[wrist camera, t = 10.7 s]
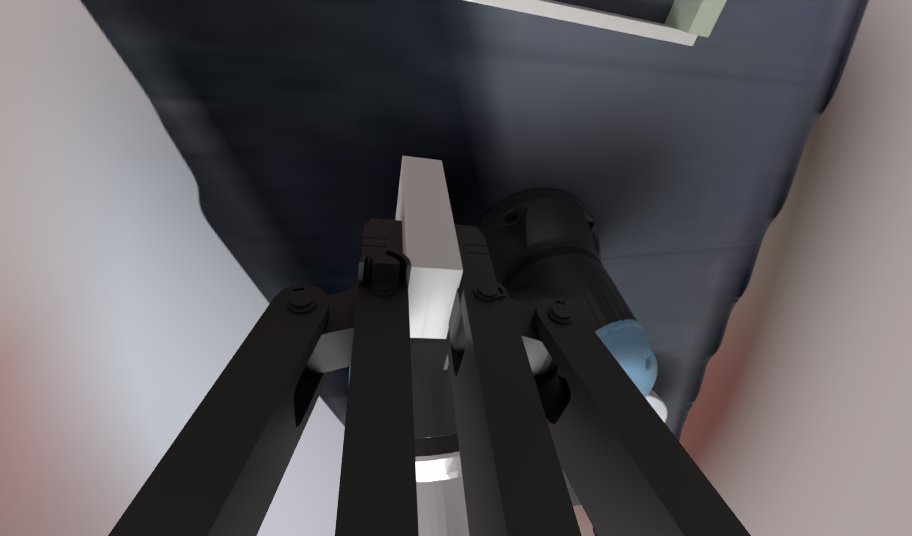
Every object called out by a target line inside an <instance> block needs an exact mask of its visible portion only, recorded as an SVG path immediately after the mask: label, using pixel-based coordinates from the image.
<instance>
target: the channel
mask: <svg viewBox="0 0 912 536" xmlns="http://www.w3.org/2000/svg"><path fill="white" fill-rule="evenodd" d="M465 1H470V2H475V3H480V4H485V5H490V6H495V7H500V8H505V9H510V10H515V11H520V12H525V13H530V14H535V15H540V16H545V17H550V18H555V19H560V20H565V21H570V22H575V23H580V24H585V25H590V26H595V27H600V28H605V29H609V30H614V31H619V32H624V33H629V34H634V35H639V36H644V37H649V38H654V39H659V40H664V41H669V42H674V43H679V44H684V45H689V46H693V44H694V42H695V40H696V38H697V36H698V35H699V36H703V37H709V35H710V33H711V31H712V29H713V27H714V25H715V23H716V21H717V19H718V17H719V15H720V13H721V11H722V9H723V7H724V5H725V3H726V1H727V0H674V3H673V5H672V7H671V10H670V12H669V14H668V17H667V19H666V21H665V24H663V23H658V22H653V21H649V20H644V19H639V18H634V17H630V16H625V15H620V14H615V13H611V12H606V11H601V10H596V9H591V8H587V7H582V6H577V5H572V4H568V3H563V2H558V1H553V0H465Z"/></svg>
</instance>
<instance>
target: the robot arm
mask: <svg viewBox="0 0 912 536" xmlns="http://www.w3.org/2000/svg"><path fill="white" fill-rule="evenodd" d="M348 366H350V373H349V389H348V400H347V411H346V422H345V433H344V443H343V455H342V465H341V476H340V487H339V498H338V509H337V520H336V530H335V536H581V533H580V529H579V526H578V523H577V519H576V516H575V512H574V509H573V506H572V502H571V499H570V496H569V492H568V489H567V486H566V482H565V479H564V476H563V472H562V469H563V471H564V473H565V474H566V476H567V478H568V480H569V482H570V484H571V486H572V488H573V489H574V491H575V493H576V495H577V497H578V499H579V501H580V503H581V504H582V506H583V508H584V510H585V512H586V514H587V516H588V518H589V520H590V521H591V523H592V525H593V527H594V529H595V531H596V533H597V535H598V536H751V535H750V534H749V533H748V532H747V530H746V529H745V527H744V526H743V525H742V523H741V522H740V521H739V520H738V518H737V517H736V516H735V514H734V513H733V512H732V510H731V509H730V508H729V507H728V505H727V504H726V503H725V502H724V500H723V499H722V497H721V496H720V495H719V494H718V492H717V491H716V490H715V488H714V487H713V486H712V484H711V483H710V482H709V480H708V479H707V478H706V477H705V475H704V474H703V473H702V471H701V470H700V469H699V467H698V466H697V465H696V464H695V462H694V461H693V459H692V458H691V457H690V456H689V454H688V453H687V452H686V451H685V449H684V448H683V446H682V445H681V444H680V442H679V441H678V440H677V439H676V437H675V436H674V435H673V433H672V432H671V431H670V429H669V428H668V427H667V426H666V424H665V423H664V422H663V420H662V419H661V418H660V416H659V415H658V414H657V412H656V411H655V410H654V409H653V407H652V406H651V405H650V403H649V402H648V401H647V399H646V397H647V395H648V394H649V393H650V391H651V389H652V388H653V386H654V383H655V381H656V378H657V372H658V366H657V360H656V357H655V354H654V352H653V350H652V348H651V346H650V344H649V342H648V340H647V337H646V335H645V332H644V329H643V327H642V325H641V324H640V323H639V322H638V321H637V320H636V318H635V317H634V315H633V314H632V312H631V310H630V309H629V307H628V305H627V304H626V302H625V300H624V299H623V297H622V296H621V294H620V292H619V291H618V289H617V287H616V286H615V284H614V282H613V281H612V279H611V278H610V276H609V274H608V273H607V271H606V269H605V268H604V266H603V265H602V263H601V257H600V245H599V234H598V229H597V225H596V223H595V221H594V219H593V217H592V215H591V214H590V212H589V211H588V209H587V208H586V206H585V205H584V204H583V203H582V202H581V201H580V200H579V199H578V198H576V197H575V196H573V195H571V194H569V193H567V192H564V191H561V190H556V189H546V188H542V189H532V190H527V191H524V192H520V193H518V194H515V195H513V196H511V197H509V198H507V199H505V200H503V201H502V202H500V203H499V204H497V205H496V206H495V207H494V208H492V209H491V210H490V211H489V212H488V213H487V215H486V216H485V217H484V218H483V220H482V221H481V222H480V224H479V226H478V228H477V227H476V226H465V225H455V224H454V221H453V216H452V211H451V206H450V200H449V195H448V190H447V185H446V180H445V175H444V170H443V164H442V160H434V159H426V158H418V157H410V156H402V165H401V174H400V183H399V192H398V201H397V210H396V220H388V219H377V218H371V219H370V220H369V222H368V223H367V224H366V225H365V226H364V235H363V246H362V256H361V259H360V261H359V277H358V281H357V283H356V284H355V285H354V286H353V287H352V288H350V289H349V290H347V291H344V292H341V293H338V294H333V295H327V294H326V293H325V292H323V291H322V290H321V289H319V288H317V287H314V286H310V285H297V286H291V287H289V288H286V289H284V290H282V291H281V292H280V293H278V294H277V295H276V296H275V297H274V299H273V300H272V302H271V303H270V304H269V306H268V307H267V309H266V310H265V312H264V313H263V315H262V316H261V317H260V319H259V320H258V322H257V323H256V325H255V326H254V327H253V329H252V330H251V332H250V333H249V335H248V336H247V338H246V339H245V340H244V342H243V343H242V345H241V346H240V347H239V349H238V350H237V352H236V353H235V355H234V356H233V358H232V359H231V360H230V362H229V363H228V365H227V366H226V368H225V369H224V370H223V372H222V373H221V375H220V376H219V378H218V379H217V381H216V382H215V384H214V385H213V386H212V388H211V389H210V390H209V392H208V393H207V395H206V396H205V398H204V399H203V401H202V402H201V403H200V405H199V406H198V408H197V409H196V411H195V412H194V413H193V415H192V416H191V418H190V419H189V421H188V422H187V423H186V425H185V426H184V428H183V429H182V431H181V432H180V433H179V435H178V436H177V438H176V439H175V441H174V442H173V443H172V445H171V447H170V448H169V449H168V451H167V452H166V453H165V455H164V456H163V458H162V459H161V461H160V462H159V464H158V465H157V466H156V468H155V469H154V471H153V472H152V474H151V475H150V476H149V478H148V479H147V481H146V482H145V484H144V485H143V486H142V488H141V490H140V491H139V492H138V494H137V495H136V497H135V498H134V499H133V501H132V502H131V504H130V505H129V506H128V508H127V509H126V511H125V512H124V514H123V515H122V517H121V518H120V519H119V521H118V522H117V524H116V525H115V527H114V528H113V529H112V531H111V532H110V534H109V535H108V536H256V535H257V533H258V531H259V529H260V526H261V524H262V522H263V520H264V517H265V515H266V513H267V511H268V509H269V506H270V504H271V502H272V500H273V497H274V495H275V493H276V491H277V488H278V486H279V484H280V482H281V479H282V477H283V475H284V473H285V470H286V468H287V466H288V464H289V462H290V459H291V457H292V455H293V453H294V450H295V448H296V446H297V444H298V441H299V439H300V437H301V435H302V433H303V430H304V428H305V426H306V424H307V421H308V419H309V417H310V415H311V412H312V410H313V408H314V406H315V403H316V401H317V399H318V397H319V395H320V392H321V390H322V388H323V386H324V383H325V381H326V379H327V377H328V374H329V371H332V370H336V369H340V368H344V367H348ZM560 465H561V466H560ZM561 467H562V469H561Z"/></svg>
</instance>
